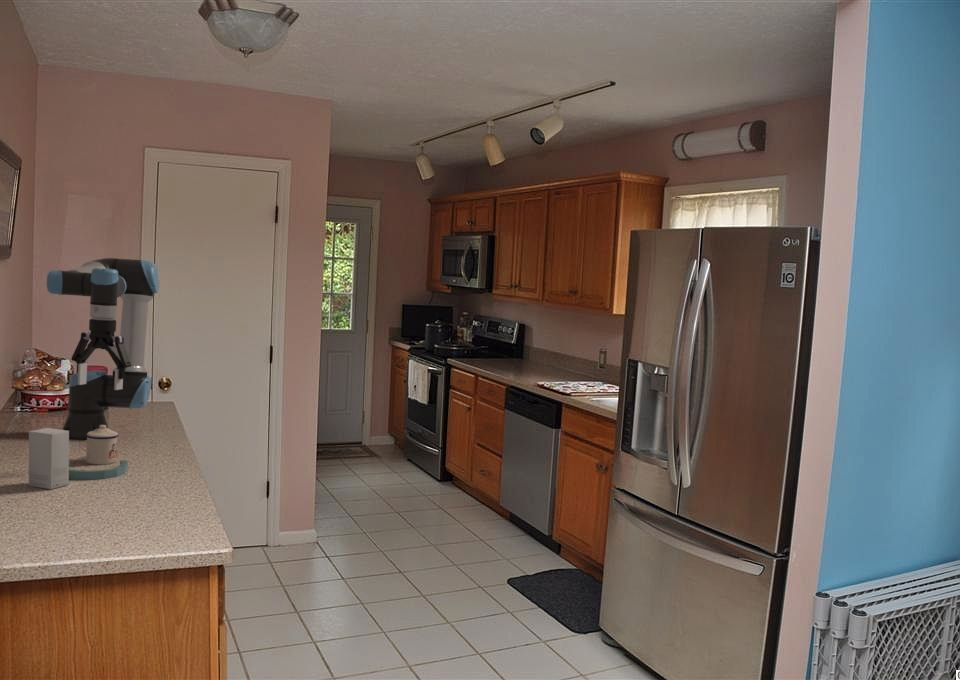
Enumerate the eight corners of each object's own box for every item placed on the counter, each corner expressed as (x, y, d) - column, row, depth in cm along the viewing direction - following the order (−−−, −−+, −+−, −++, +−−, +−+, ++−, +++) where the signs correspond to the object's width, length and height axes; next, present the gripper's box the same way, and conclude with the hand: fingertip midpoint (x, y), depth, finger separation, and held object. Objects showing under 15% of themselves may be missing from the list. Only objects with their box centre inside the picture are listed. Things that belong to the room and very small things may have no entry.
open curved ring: (59, 465, 241) (60, 458, 241) (130, 467, 246) (130, 459, 246) (43, 479, 226) (44, 470, 226) (119, 480, 230) (119, 472, 230)
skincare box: (69, 485, 222) (71, 430, 221) (49, 490, 215) (51, 434, 214) (46, 481, 224) (48, 426, 223) (25, 485, 218) (28, 430, 217)
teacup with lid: (114, 465, 247) (116, 428, 246) (82, 465, 244) (84, 427, 244) (119, 456, 259) (121, 421, 258) (89, 456, 256) (90, 420, 255)
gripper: (60, 315, 243) (57, 383, 245) (128, 322, 236) (125, 393, 238) (78, 314, 250) (76, 380, 252) (145, 322, 244) (142, 390, 245)
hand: (100, 386), depth 245 cm, fingers open, 13 cm apart
